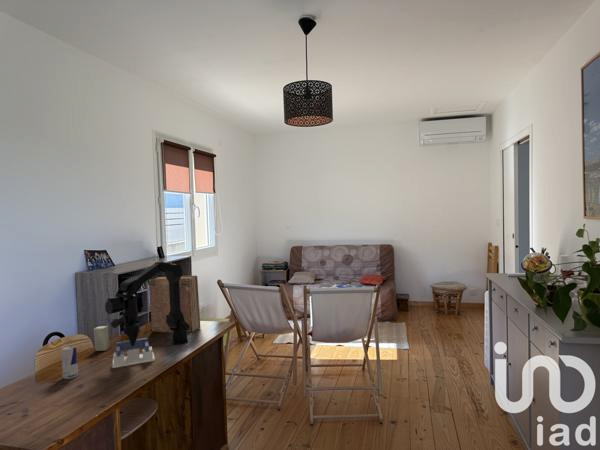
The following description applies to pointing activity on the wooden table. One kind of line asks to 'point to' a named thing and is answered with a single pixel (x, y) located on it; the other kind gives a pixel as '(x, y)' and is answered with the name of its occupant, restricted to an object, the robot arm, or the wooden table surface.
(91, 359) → the wooden table surface
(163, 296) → the book
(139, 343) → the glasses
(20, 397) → the wooden table surface
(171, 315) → the robot arm
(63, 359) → the energy drink
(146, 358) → the display stand
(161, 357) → the wooden table surface
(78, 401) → the wooden table surface
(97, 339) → the box
